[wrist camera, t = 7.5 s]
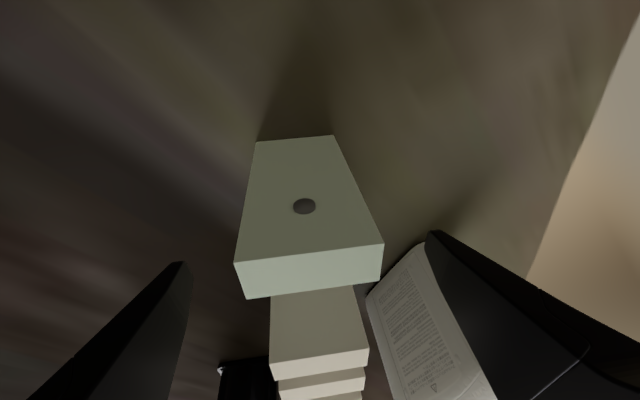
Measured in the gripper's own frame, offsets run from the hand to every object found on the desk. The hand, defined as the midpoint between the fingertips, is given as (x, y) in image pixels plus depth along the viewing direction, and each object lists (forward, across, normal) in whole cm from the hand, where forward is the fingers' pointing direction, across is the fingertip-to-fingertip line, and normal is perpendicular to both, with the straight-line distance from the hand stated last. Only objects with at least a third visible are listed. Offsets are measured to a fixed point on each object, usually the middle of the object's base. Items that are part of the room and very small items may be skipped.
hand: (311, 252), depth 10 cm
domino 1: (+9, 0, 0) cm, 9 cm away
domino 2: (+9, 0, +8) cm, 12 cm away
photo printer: (+9, -9, +15) cm, 20 cm away
